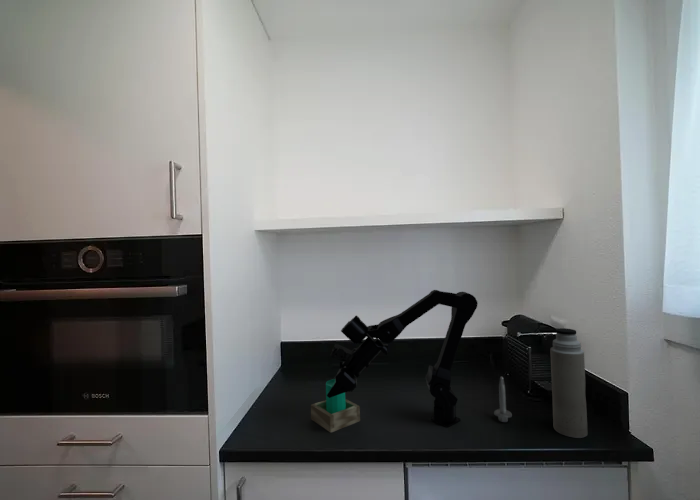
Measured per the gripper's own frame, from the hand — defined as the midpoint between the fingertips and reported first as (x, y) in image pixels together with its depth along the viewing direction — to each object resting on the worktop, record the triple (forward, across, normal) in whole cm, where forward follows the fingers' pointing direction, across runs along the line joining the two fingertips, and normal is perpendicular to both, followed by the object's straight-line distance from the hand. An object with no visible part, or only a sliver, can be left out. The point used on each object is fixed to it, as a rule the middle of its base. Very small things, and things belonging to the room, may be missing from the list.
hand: (330, 390), depth 107 cm
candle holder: (+5, 0, +7) cm, 9 cm away
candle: (+5, 0, +7) cm, 8 cm away
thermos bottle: (-41, +6, +54) cm, 68 cm away
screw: (-30, 0, +43) cm, 53 cm away
